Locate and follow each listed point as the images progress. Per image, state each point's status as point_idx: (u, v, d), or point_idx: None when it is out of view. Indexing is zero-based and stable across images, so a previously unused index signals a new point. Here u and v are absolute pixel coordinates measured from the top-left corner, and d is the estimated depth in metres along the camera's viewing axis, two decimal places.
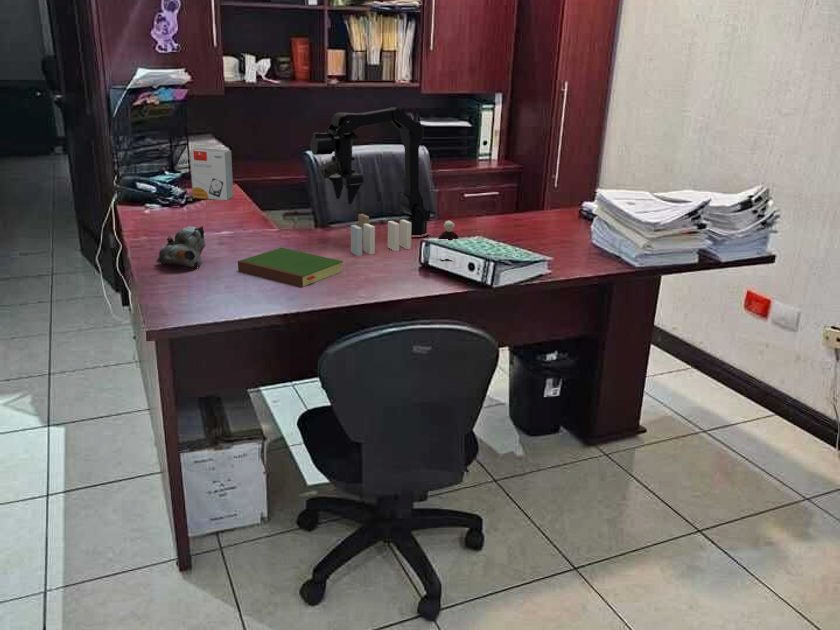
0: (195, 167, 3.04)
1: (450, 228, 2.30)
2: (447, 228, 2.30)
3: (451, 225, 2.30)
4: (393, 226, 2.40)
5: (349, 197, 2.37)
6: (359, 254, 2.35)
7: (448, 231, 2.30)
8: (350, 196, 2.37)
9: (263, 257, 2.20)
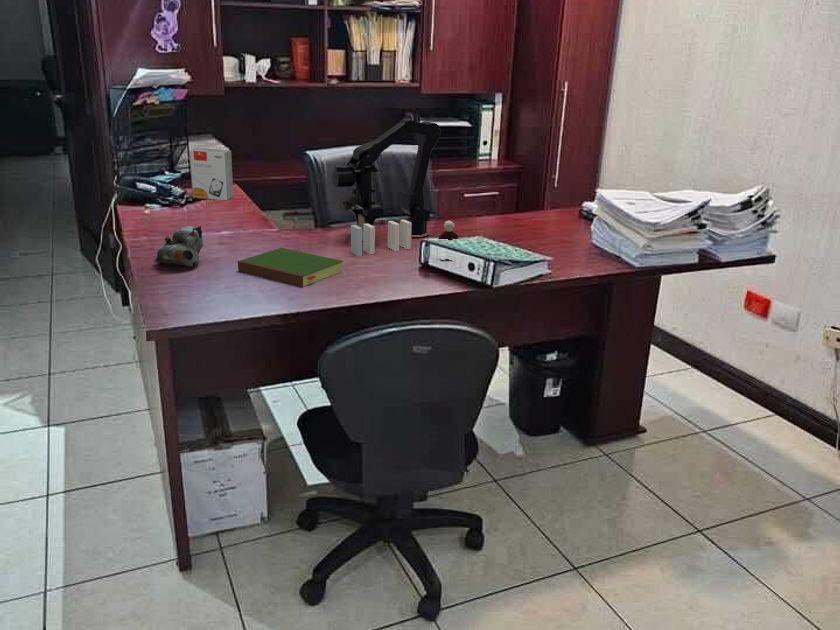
0: (195, 167, 3.04)
1: (450, 228, 2.30)
2: (447, 228, 2.30)
3: (451, 225, 2.30)
4: (393, 226, 2.40)
5: None
6: (359, 254, 2.35)
7: (448, 231, 2.30)
8: None
9: (263, 257, 2.20)
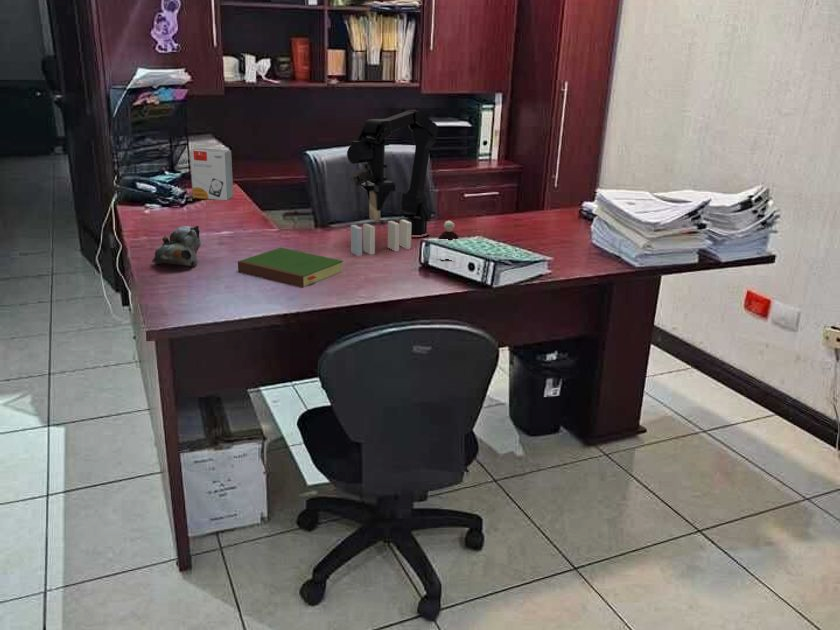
0: (195, 167, 3.04)
1: (450, 228, 2.30)
2: (447, 228, 2.30)
3: (451, 225, 2.30)
4: (393, 226, 2.40)
5: (378, 203, 2.37)
6: (359, 254, 2.35)
7: (448, 231, 2.30)
8: (379, 202, 2.37)
9: (263, 257, 2.20)
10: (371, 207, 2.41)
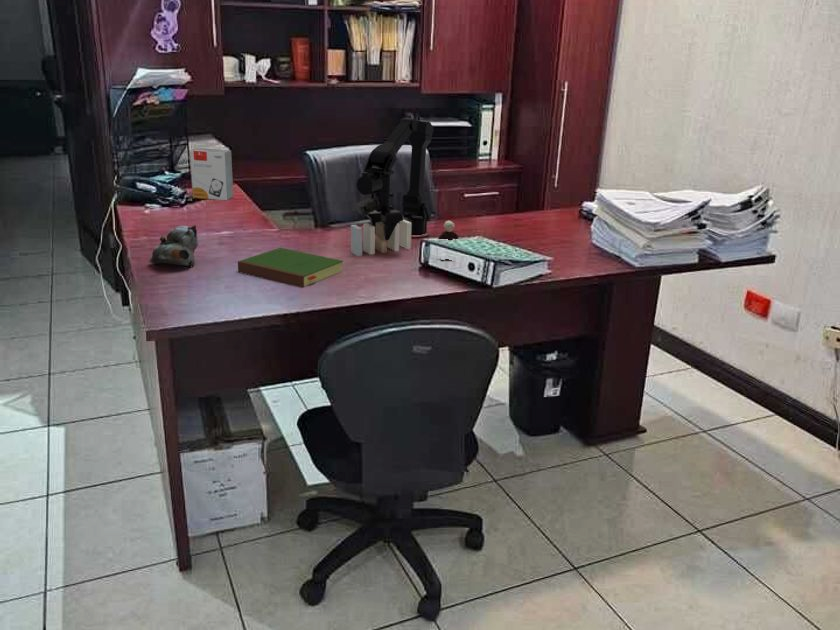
0: (195, 167, 3.04)
1: (450, 228, 2.30)
2: (447, 228, 2.30)
3: (451, 225, 2.30)
4: None
5: (386, 233, 2.36)
6: (359, 254, 2.35)
7: (448, 231, 2.30)
8: (387, 232, 2.36)
9: (263, 257, 2.20)
10: (378, 238, 2.41)
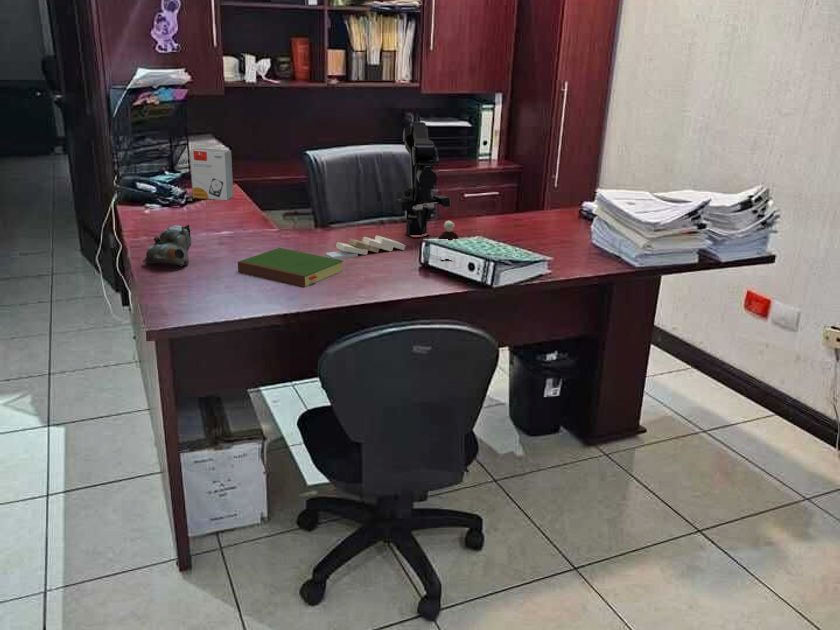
0: (195, 167, 3.04)
1: (450, 228, 2.30)
2: (447, 228, 2.30)
3: (451, 225, 2.30)
4: (369, 244, 2.38)
5: (418, 221, 2.46)
6: (356, 256, 2.35)
7: (448, 231, 2.30)
8: (418, 220, 2.46)
9: (263, 257, 2.20)
10: None
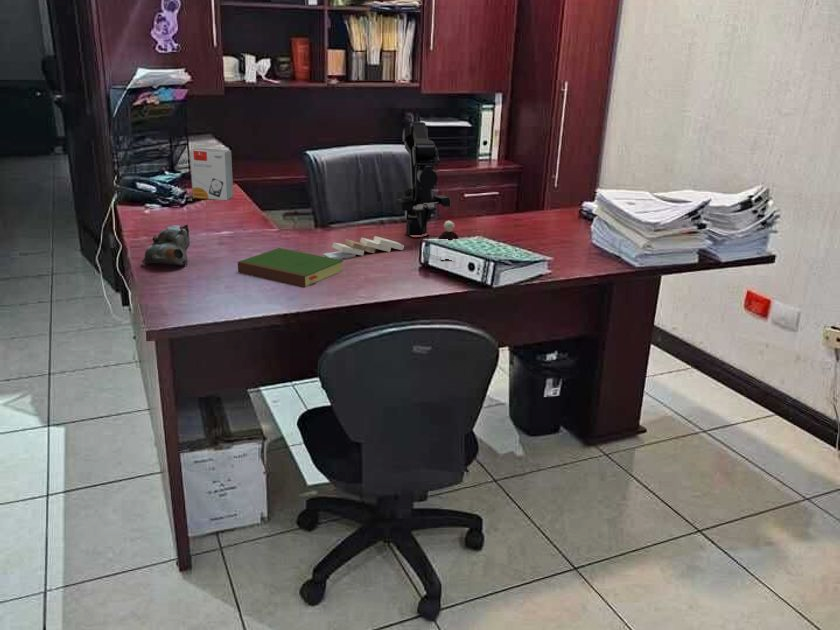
0: (195, 167, 3.04)
1: (450, 228, 2.30)
2: (447, 228, 2.30)
3: (451, 225, 2.30)
4: (366, 245, 2.38)
5: (418, 221, 2.46)
6: None
7: (448, 231, 2.30)
8: (419, 220, 2.46)
9: (263, 257, 2.20)
10: None
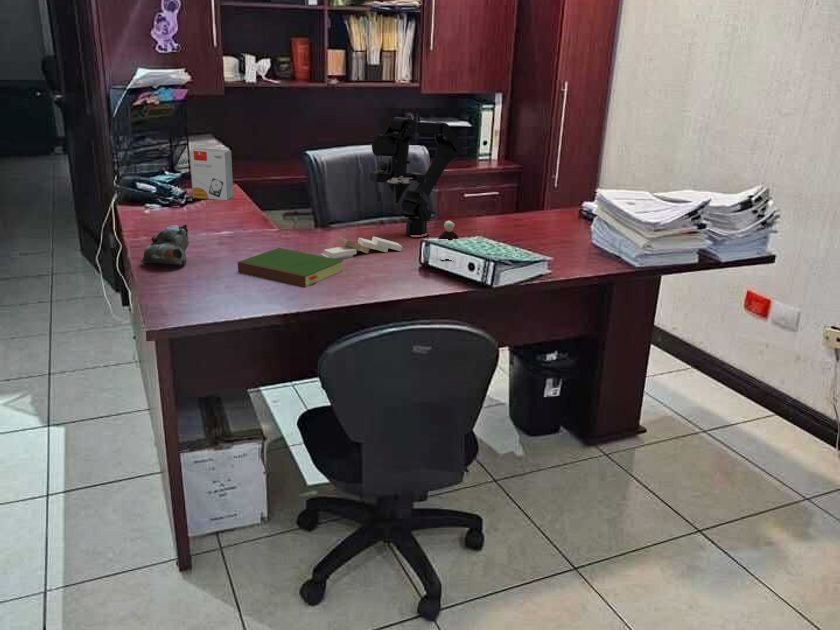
0: (195, 167, 3.04)
1: (450, 228, 2.30)
2: (447, 228, 2.30)
3: (451, 225, 2.30)
4: (363, 245, 2.38)
5: (392, 195, 2.49)
6: None
7: (448, 231, 2.30)
8: (393, 194, 2.49)
9: (263, 257, 2.20)
10: None
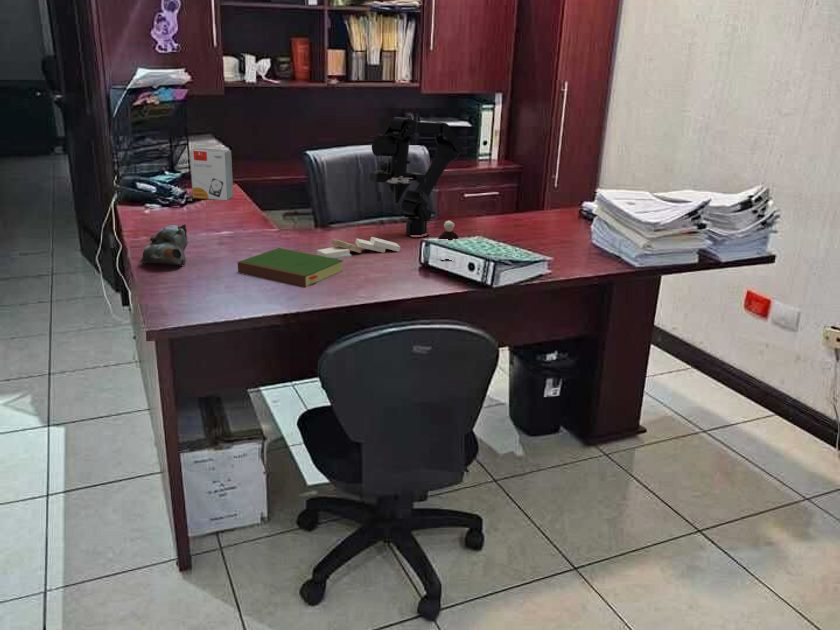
0: (195, 167, 3.04)
1: (450, 228, 2.30)
2: (447, 228, 2.30)
3: (451, 225, 2.30)
4: None
5: (392, 195, 2.49)
6: None
7: (448, 231, 2.30)
8: (393, 194, 2.49)
9: (263, 257, 2.20)
10: None
